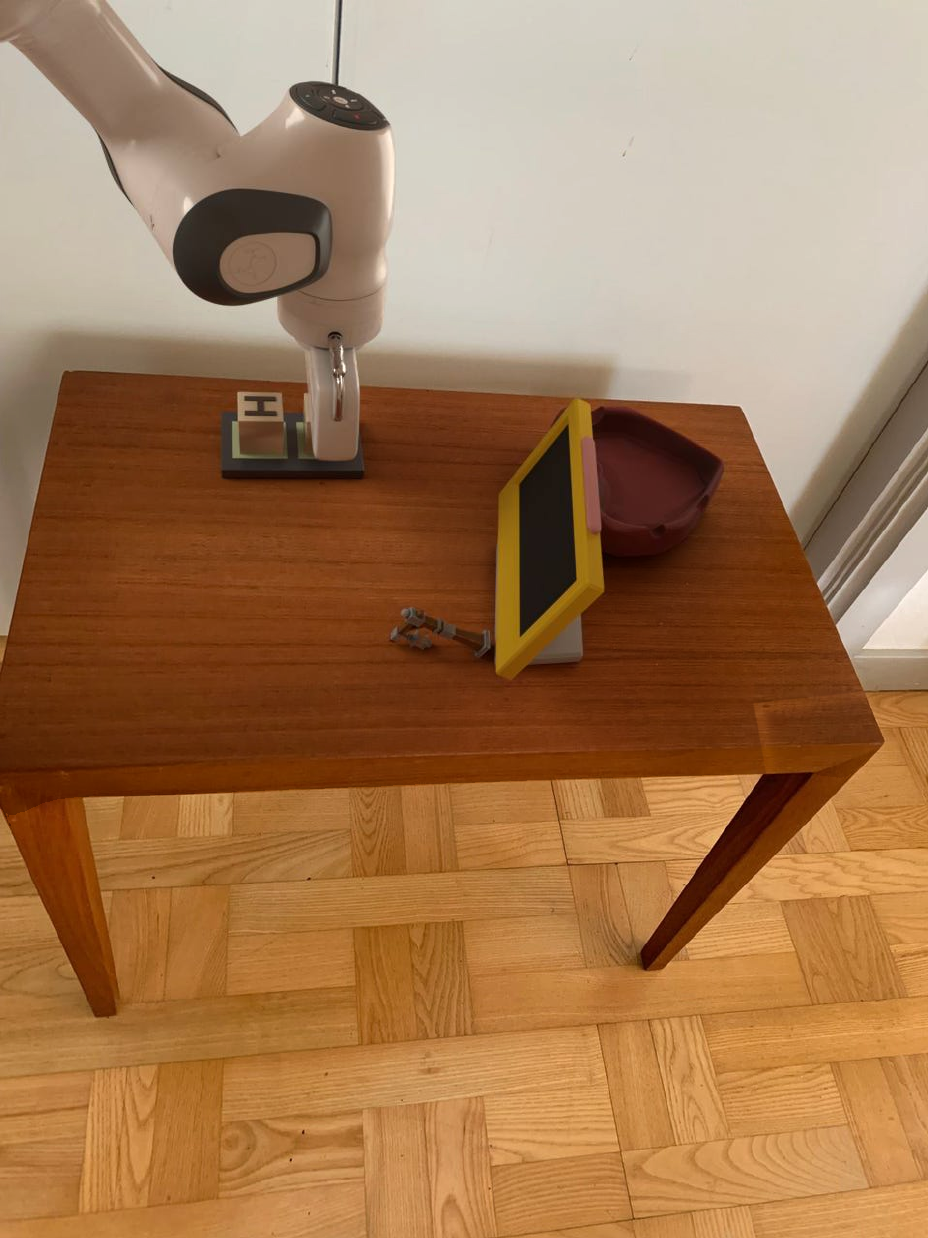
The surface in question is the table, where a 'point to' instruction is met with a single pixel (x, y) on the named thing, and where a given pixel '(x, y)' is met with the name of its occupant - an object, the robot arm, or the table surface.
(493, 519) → the table surface
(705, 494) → the ashtray
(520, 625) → the toy computer monitor
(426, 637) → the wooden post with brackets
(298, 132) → the robot arm
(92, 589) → the table surface
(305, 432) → the tile
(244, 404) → the tile
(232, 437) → the dark grey flat block
